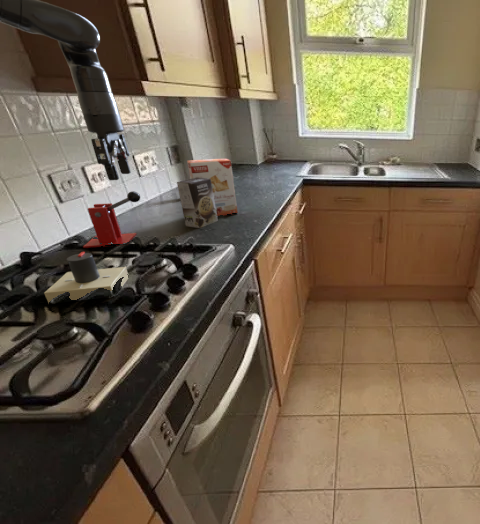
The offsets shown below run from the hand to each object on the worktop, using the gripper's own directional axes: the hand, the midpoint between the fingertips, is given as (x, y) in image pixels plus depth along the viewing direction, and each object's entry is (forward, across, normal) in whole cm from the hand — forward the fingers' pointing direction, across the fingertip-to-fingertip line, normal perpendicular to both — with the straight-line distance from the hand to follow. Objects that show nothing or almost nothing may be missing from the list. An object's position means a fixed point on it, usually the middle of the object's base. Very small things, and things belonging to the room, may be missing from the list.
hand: (120, 176), depth 91 cm
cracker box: (+21, -30, +18) cm, 41 cm away
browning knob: (+18, +26, -3) cm, 31 cm away
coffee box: (+21, -18, +14) cm, 31 cm away
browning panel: (+21, +26, -3) cm, 33 cm away
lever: (+10, -5, -4) cm, 12 cm away
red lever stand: (+21, -5, -10) cm, 24 cm away
